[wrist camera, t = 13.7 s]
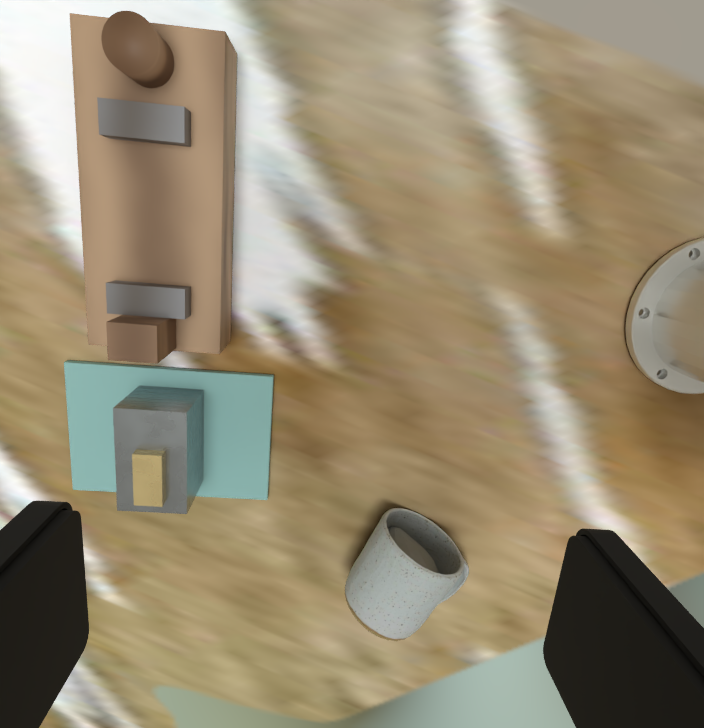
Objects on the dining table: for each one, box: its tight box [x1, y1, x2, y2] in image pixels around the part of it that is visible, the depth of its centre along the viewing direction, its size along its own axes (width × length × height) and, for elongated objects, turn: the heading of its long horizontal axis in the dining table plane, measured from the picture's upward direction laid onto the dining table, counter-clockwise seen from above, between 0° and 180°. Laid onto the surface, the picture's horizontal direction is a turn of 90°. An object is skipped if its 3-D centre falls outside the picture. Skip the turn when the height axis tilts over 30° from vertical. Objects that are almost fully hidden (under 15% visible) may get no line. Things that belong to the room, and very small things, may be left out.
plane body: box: [70, 11, 237, 363], centre depth 32 cm, size 9×20×8 cm, turn 175°
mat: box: [64, 360, 274, 500], centre depth 40 cm, size 16×11×1 cm
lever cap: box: [113, 385, 204, 514], centre depth 37 cm, size 5×8×6 cm, turn 175°
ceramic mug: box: [345, 508, 469, 641], centre depth 41 cm, size 11×8×8 cm
